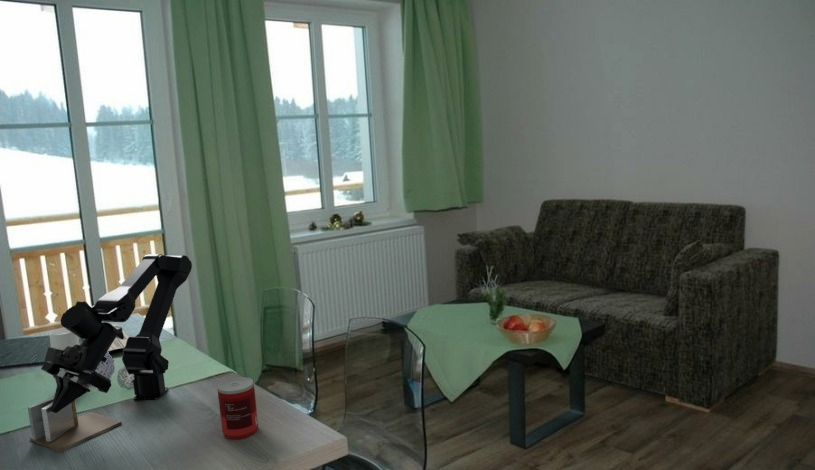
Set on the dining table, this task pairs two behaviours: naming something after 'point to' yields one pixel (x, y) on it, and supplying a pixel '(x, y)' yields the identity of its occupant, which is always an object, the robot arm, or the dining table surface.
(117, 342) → the newspaper
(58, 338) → the white tapered cylinder
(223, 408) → the canned food
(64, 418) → the swinging leaf
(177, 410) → the dining table surface
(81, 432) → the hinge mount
